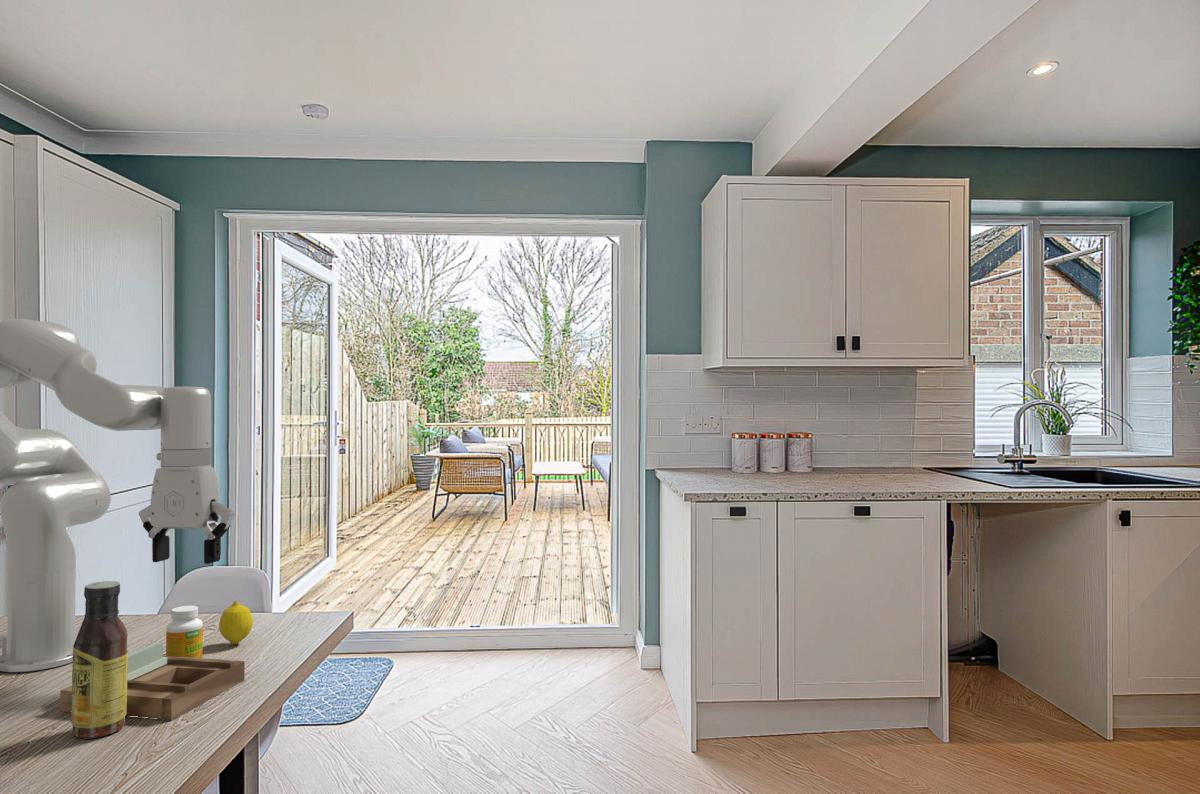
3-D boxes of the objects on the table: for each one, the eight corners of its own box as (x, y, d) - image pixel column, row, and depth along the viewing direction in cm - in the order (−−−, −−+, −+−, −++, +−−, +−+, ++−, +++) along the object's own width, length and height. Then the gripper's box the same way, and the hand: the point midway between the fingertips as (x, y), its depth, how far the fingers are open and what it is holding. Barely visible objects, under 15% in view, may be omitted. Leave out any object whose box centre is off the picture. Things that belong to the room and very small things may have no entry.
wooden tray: (60, 711, 109) (60, 684, 109) (145, 672, 125) (145, 649, 125) (171, 720, 106) (171, 693, 106) (244, 680, 122) (244, 656, 122)
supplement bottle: (186, 673, 125) (187, 613, 125) (158, 670, 126) (158, 611, 126) (209, 662, 130) (210, 605, 131) (182, 660, 132) (182, 603, 132)
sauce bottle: (66, 731, 103) (68, 583, 103) (120, 717, 107) (121, 575, 107) (77, 746, 98) (78, 591, 98) (132, 732, 103) (133, 583, 103)
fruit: (230, 651, 136) (231, 606, 136) (212, 646, 139) (212, 602, 139) (258, 643, 141) (259, 599, 141) (240, 638, 144) (241, 595, 144)
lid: (75, 679, 113) (75, 655, 113) (120, 660, 122) (120, 638, 122) (124, 682, 112) (125, 658, 112) (167, 663, 120) (167, 641, 120)
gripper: (123, 461, 127) (123, 564, 126) (217, 461, 124) (217, 567, 123) (157, 458, 134) (157, 555, 134) (246, 458, 131) (246, 558, 131)
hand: (186, 561), depth 129 cm, fingers open, 9 cm apart
